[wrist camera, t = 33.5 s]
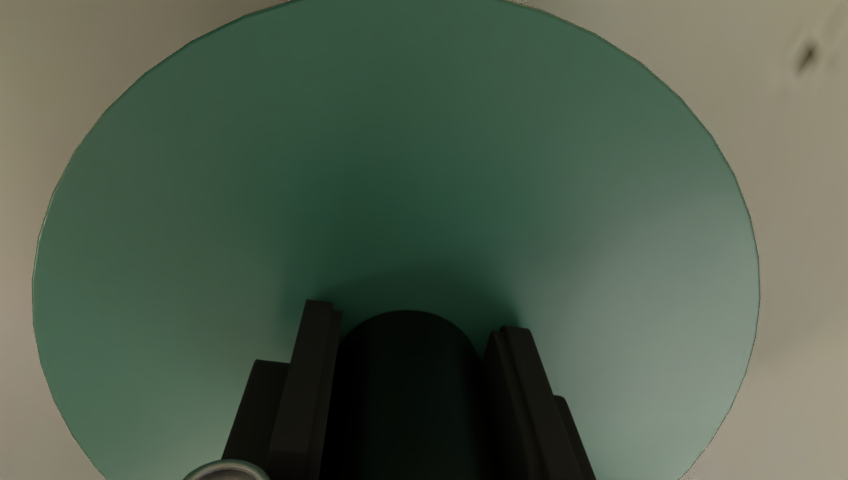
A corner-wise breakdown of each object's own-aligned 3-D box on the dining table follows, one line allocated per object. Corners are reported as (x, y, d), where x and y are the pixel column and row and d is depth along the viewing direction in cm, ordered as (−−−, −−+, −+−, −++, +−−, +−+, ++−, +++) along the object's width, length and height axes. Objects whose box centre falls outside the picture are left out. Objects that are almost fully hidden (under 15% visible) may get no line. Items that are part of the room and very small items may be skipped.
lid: (80, 533, 16) (-114, 892, 10) (26, -101, 9) (-595, -186, 4) (611, 577, 17) (725, 905, 11) (858, 66, 11) (1383, 198, 5)
